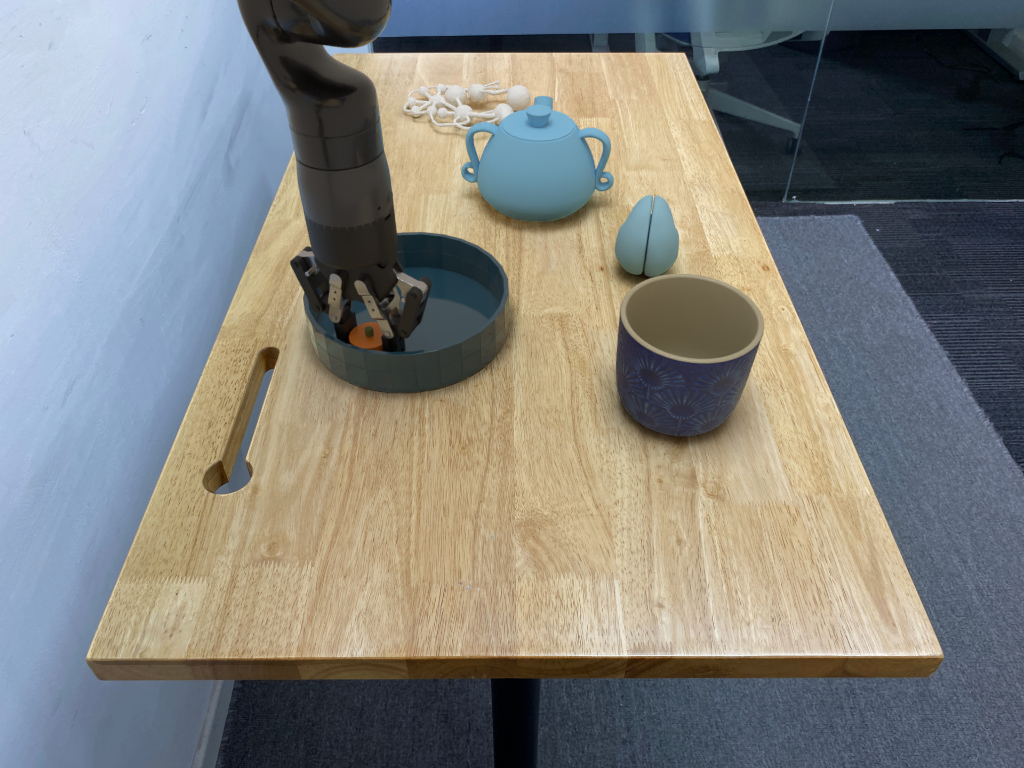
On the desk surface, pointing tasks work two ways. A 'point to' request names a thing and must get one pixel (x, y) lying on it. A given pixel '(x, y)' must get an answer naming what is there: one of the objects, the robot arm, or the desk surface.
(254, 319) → the desk surface
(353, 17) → the robot arm
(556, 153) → the blue sugar bowl
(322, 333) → the bowl
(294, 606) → the desk surface
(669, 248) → the toy flower bud
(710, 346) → the planter
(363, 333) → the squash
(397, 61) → the desk surface
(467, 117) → the tangled rod sculpture
